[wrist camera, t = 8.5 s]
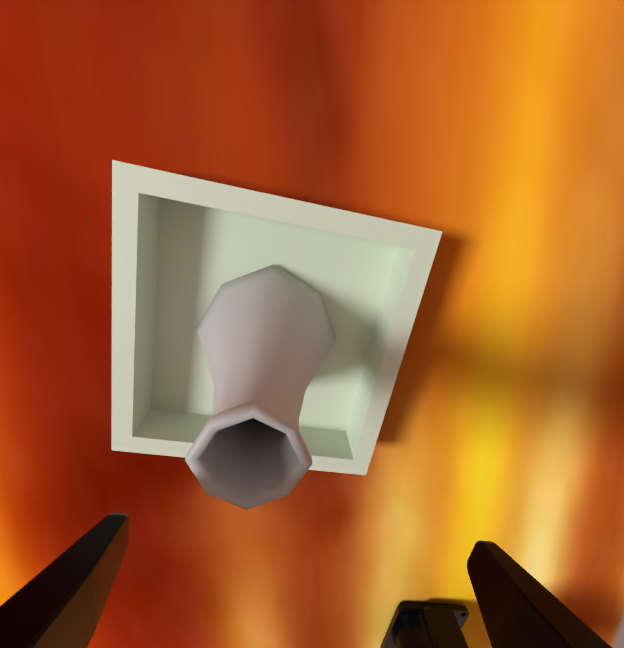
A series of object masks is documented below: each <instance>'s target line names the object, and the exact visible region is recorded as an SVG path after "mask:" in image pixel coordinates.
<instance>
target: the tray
mask: <svg viewBox="0 0 624 648" xmlns="http://www.w3.org/2000/svg"><path fill="white" fill-rule="evenodd" d="M441 235H442V231H438V230H433V229H428V228H424V227H419V226H415V225H410V224H405V223H401V222H396V221H391V220H387V219H382V218H378V217H373V216H368V215H364V214H359V213H354V212H350V211H345V210H341V209H336V208H331V207H327V206H322V205H318V204H313V203H308V202H304V201H299V200H294V199H290V198H285V197H281V196H276V195H271V194H267V193H262V192H257V191H253V190H248V189H244V188H239V187H234V186H230V185H225V184H220V183H216V182H211V181H207V180H202V179H197V178H193V177H188V176H183V175H179V174H174V173H170V172H165V171H160V170H156V169H151V168H146V167H142V166H137V165H133V164H128V163H123V162H119V161H114V160H112V450H114V451H124V452H135V453H145V454H155V455H165V456H175V457H186V455H187V453H188V451H189V450H190V448H191V447H192V445H193V444H194V442H195V441H196V439H197V437H198V436H199V434H200V433H201V431H202V430H203V428H204V426H205V425H206V423H207V422H208V420H209V419H210V418H211V416H212V415H213V395H214V384H213V380H212V377H211V373H210V369H209V365H208V362H207V358H206V354H205V352H204V349H203V346H202V343H201V341H200V338H199V335H198V331H197V326H198V325H199V323H200V321H201V319H202V318H203V316H204V314H205V312H206V311H207V309H208V307H209V306H210V304H211V302H212V300H213V299H214V297H215V295H216V293H217V292H218V290H219V288H220V286H221V285H222V284H223V283H225V282H228V281H231V280H233V279H236V278H239V277H241V276H244V275H246V274H249V273H252V272H254V271H257V270H260V269H262V268H265V267H267V266H270V265H273V264H274V265H275V266H277V267H278V268H280V269H282V270H283V271H285V272H286V273H288V274H290V275H291V276H293V277H294V278H296V279H298V280H299V281H301V282H302V283H304V284H306V285H307V286H309V287H310V288H312V289H314V290H315V291H317V292H318V293H319V294H320V296H321V299H322V302H323V305H324V307H325V310H326V313H327V316H328V318H329V321H330V324H331V326H332V329H333V332H334V335H335V337H336V340H335V342H334V344H333V345H332V347H331V348H330V350H329V351H328V353H327V354H326V356H325V358H324V359H323V361H322V362H321V364H320V366H319V367H318V369H317V371H316V373H315V375H314V376H313V378H312V380H311V382H310V384H309V386H308V387H307V389H306V391H305V395H304V399H303V404H302V408H301V412H300V416H299V430H300V433H301V435H302V437H303V439H304V441H305V443H306V446H307V448H308V450H309V452H310V454H311V457H312V465H311V467H310V468H309V469H308V470H318V471H328V472H338V473H348V474H359V475H366V473H367V470H368V467H369V464H370V460H371V457H372V454H373V451H374V448H375V444H376V441H377V438H378V435H379V432H380V429H381V425H382V422H383V419H384V416H385V413H386V410H387V406H388V403H389V400H390V397H391V394H392V391H393V387H394V384H395V381H396V378H397V375H398V372H399V368H400V365H401V362H402V359H403V356H404V353H405V349H406V346H407V343H408V340H409V337H410V334H411V330H412V327H413V324H414V321H415V318H416V314H417V311H418V308H419V305H420V302H421V299H422V295H423V292H424V289H425V286H426V283H427V280H428V276H429V273H430V270H431V267H432V264H433V261H434V257H435V254H436V251H437V248H438V245H439V242H440V238H441Z"/></svg>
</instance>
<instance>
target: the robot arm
mask: <svg viewBox="0 0 624 648" xmlns="http://www.w3.org/2000/svg"><path fill="white" fill-rule="evenodd" d="M128 542H129V515H128V514H122V513H111V514H109V515H107V516H106V517H105V518H103V519H102V520H101V521H100V522H99V523H98V524H96V525H95V526H94V527H93V528H92V529H90V530H89V531H88V532H87V533H86V534H85V535H83V536H82V537H81V538H80V539H79V540H78V541H76V542H75V543H74V544H73V545H72V546H70V547H69V548H68V549H67V550H66V551H65V552H63V553H62V554H61V555H60V556H59V557H58V558H56V559H55V560H54V561H53V562H52V563H50V564H49V565H48V566H47V567H46V568H45V569H43V570H42V571H41V572H40V573H39V574H38V575H36V576H35V577H34V578H33V579H32V580H30V581H29V582H28V583H27V584H26V585H25V586H23V587H22V588H21V589H20V590H19V591H18V592H16V593H15V594H14V595H13V596H12V597H10V598H9V599H8V600H7V601H6V602H5V603H3V604H2V605H1V606H0V648H87V647H88V645H89V643H90V640H91V638H92V636H93V634H94V632H95V629H96V627H97V624H98V622H99V619H100V617H101V614H102V612H103V609H104V606H105V604H106V601H107V599H108V596H109V594H110V591H111V588H112V586H113V583H114V581H115V578H116V575H117V573H118V570H119V568H120V565H121V563H122V560H123V557H124V555H125V552H126V549H127V546H128ZM467 569H468V574H469V577H470V580H471V583H472V586H473V589H474V593H475V596H476V599H477V602H478V605H479V608H480V612H481V615H482V618H483V621H484V624H485V627H486V630H487V633H488V636H489V639H490V642H491V645H492V648H612V647H611V646H610V645H608V644H607V643H606V642H605V641H604V640H603V639H602V638H601V637H599V636H598V635H597V634H596V633H595V632H594V631H593V630H592V629H591V628H589V627H588V626H587V625H586V624H585V623H584V622H583V621H582V620H580V619H579V618H578V617H577V616H576V615H575V614H574V613H573V612H572V611H570V610H569V609H568V608H567V607H566V606H565V605H564V604H563V603H561V602H560V601H559V600H558V599H557V598H556V597H555V596H554V595H553V594H551V593H550V592H549V591H548V590H547V589H546V588H545V587H544V586H542V585H541V584H540V583H539V582H538V581H537V580H536V579H535V578H533V577H532V576H531V575H530V574H529V573H528V572H527V571H526V570H525V569H523V568H522V567H521V566H520V565H519V564H518V563H517V562H516V561H514V560H513V559H512V558H511V557H510V556H509V555H508V554H507V553H506V552H504V551H503V550H502V549H501V548H500V547H499V546H498V545H496V544H495V543H494V542H491V541H478V542H476V544H475V546H474V548H473V550H472V552H471V554H470V557H469V559H468V561H467ZM468 615H469V612H468V610H467V608H466V606H460V605H436V604H411V603H402V604H400V605H398V607H397V609H396V611H395V614H394V616H393V618H392V621H391V623H390V625H389V628H388V630H387V632H386V635H385V637H384V640H383V642H382V644H381V647H380V648H469V647H468V645H467V642H466V640H465V637H464V635H463V633H462V630H461V628H462V626H463V625H464V623H465V621H466V619H467V617H468Z"/></svg>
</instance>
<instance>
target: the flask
mask: <svg viewBox="0 0 624 648" xmlns="http://www.w3.org/2000/svg"><path fill="white" fill-rule="evenodd" d="M197 331H198V335H199V338H200V341H201V343H202V346H203V349H204V352H205V354H206V358H207V362H208V365H209V369H210V373H211V377H212V380H213V384H214V395H213V415H212V416H211V418H210V419H209V420H208V422H207V423H206V425H205V426H204V428H203V430H202V431H201V433H200V434H199V436H198V437H197V439H196V441H195V442H194V444H193V445H192V447H191V448H190V450H189V451H188V453H187V455H186V458H185V461H186V462H187V464H188V465H189V467H190V468H191V470H192V472H193V473H194V475H195V476H196V478H197V479H198V481H199V482H200V484H201V486H202V487H203V489H204V490H205V492H206V493H207V494H209V495H212V496H214V497H217V498H219V499H222V500H224V501H227V502H229V503H232V504H234V505H237V506H239V507H242V508H244V509H250V508H253V507H256V506H259V505H262V504H265V503H268V502H271V501H273V500H276V499H279V498H282V497H285V496H288V495H289V494H290V492H291V491H292V490H293V489H294V487H295V486H296V485H297V483H298V482H299V481H300V480H301V478H302V477H303V476H304V474H305V473H306V472H307V471H308V469H309V468H310V467H311V465H312V457H311V454H310V452H309V450H308V448H307V446H306V443H305V441H304V439H303V437H302V435H301V433H300V430H299V416H300V412H301V408H302V404H303V399H304V395H305V391H306V389H307V387H308V386H309V384H310V382H311V380H312V378H313V376H314V375H315V373H316V371H317V369H318V367H319V366H320V364H321V362H322V361H323V359H324V358H325V356H326V354H327V353H328V351H329V350H330V348H331V347H332V345H333V344H334V342H335V340H336V337H335V335H334V332H333V329H332V326H331V324H330V321H329V318H328V316H327V313H326V310H325V307H324V305H323V302H322V299H321V296H320V294H319V293H318V292H317V291H315V290H314V289H312V288H310V287H309V286H307V285H306V284H304V283H302V282H301V281H299V280H298V279H296V278H294V277H293V276H291V275H290V274H288V273H286V272H285V271H283V270H282V269H280V268H278V267H277V266H275V265H274V264H273V265H270V266H267V267H265V268H262V269H260V270H257V271H254V272H252V273H249V274H246V275H244V276H241V277H239V278H236V279H233V280H231V281H228V282H225V283H223V284H222V285H221V286H220V288H219V290H218V292H217V293H216V295H215V297H214V299H213V300H212V302H211V304H210V306H209V307H208V309H207V311H206V312H205V314H204V316H203V318H202V319H201V321H200V323H199V325H198V326H197Z"/></svg>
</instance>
